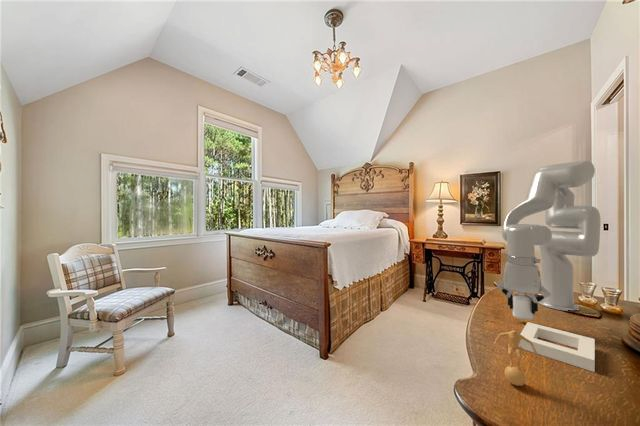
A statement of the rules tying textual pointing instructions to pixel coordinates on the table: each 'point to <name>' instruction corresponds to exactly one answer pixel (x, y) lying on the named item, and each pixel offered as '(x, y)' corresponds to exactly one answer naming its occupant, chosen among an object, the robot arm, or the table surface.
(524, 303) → the eye dropper bottle
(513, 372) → the figurine
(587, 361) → the cream square frame
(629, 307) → the table surface
